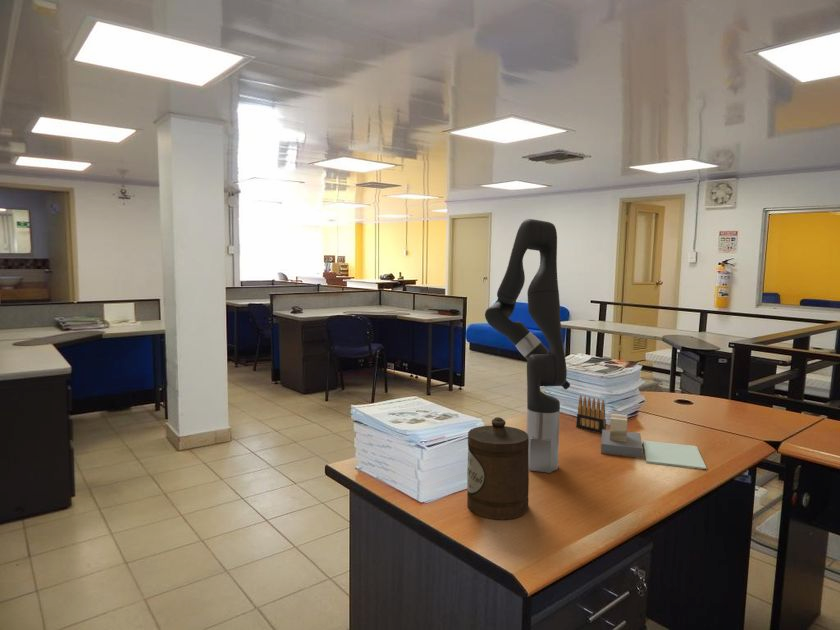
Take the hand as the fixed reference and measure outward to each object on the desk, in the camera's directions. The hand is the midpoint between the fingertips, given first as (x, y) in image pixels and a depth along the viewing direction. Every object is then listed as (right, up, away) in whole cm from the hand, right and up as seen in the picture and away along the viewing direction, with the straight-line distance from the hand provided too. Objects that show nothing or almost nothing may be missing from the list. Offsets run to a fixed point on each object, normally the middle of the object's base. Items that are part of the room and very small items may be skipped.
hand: (568, 387), depth 177 cm
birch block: (+15, -16, -4) cm, 22 cm away
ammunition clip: (+12, -17, +14) cm, 26 cm away
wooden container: (-30, -23, -47) cm, 60 cm away
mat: (+29, -20, -11) cm, 37 cm away
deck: (+16, -19, -4) cm, 25 cm away
